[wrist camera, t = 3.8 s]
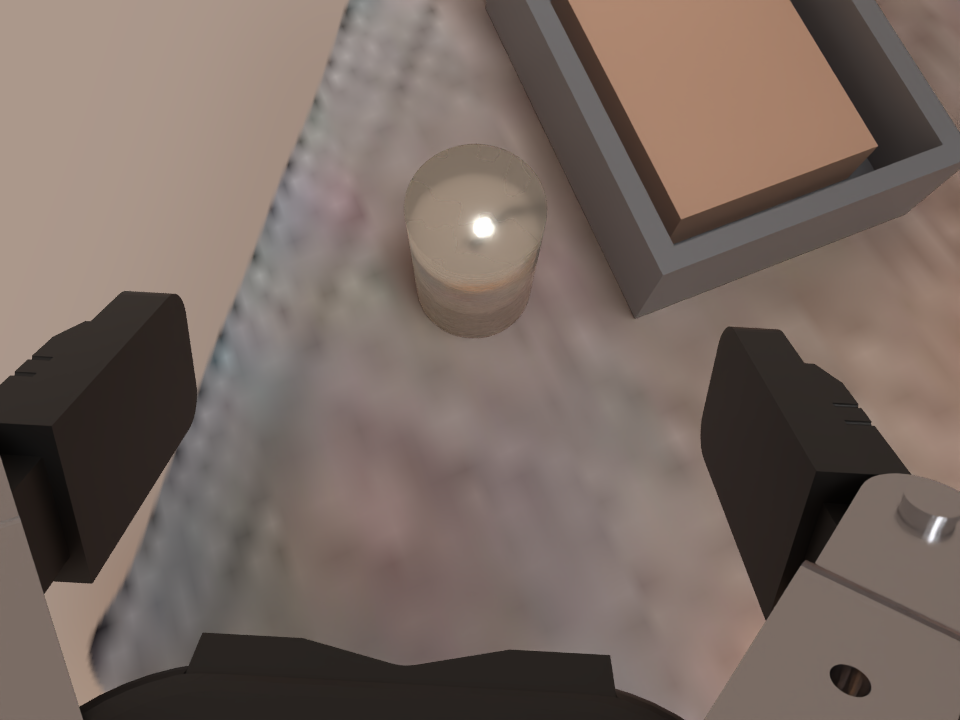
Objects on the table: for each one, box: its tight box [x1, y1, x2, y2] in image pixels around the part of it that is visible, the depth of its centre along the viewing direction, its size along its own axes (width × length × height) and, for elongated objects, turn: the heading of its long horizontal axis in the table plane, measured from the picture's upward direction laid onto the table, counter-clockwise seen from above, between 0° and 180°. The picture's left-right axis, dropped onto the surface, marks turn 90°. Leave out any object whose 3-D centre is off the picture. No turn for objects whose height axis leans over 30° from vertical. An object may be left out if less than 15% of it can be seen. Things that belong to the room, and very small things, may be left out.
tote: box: [486, 0, 960, 319], centre depth 38 cm, size 15×19×6 cm
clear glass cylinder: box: [404, 144, 547, 338], centre depth 34 cm, size 6×6×8 cm
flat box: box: [551, 0, 878, 244], centre depth 38 cm, size 10×14×3 cm
